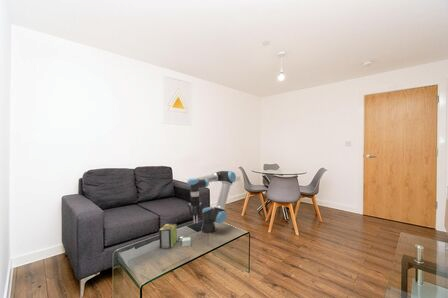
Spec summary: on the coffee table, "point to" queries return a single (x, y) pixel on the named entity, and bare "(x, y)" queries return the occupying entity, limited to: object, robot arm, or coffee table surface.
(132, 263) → the coffee table surface
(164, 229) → the protein box
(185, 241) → the sage block
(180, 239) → the metal tin
